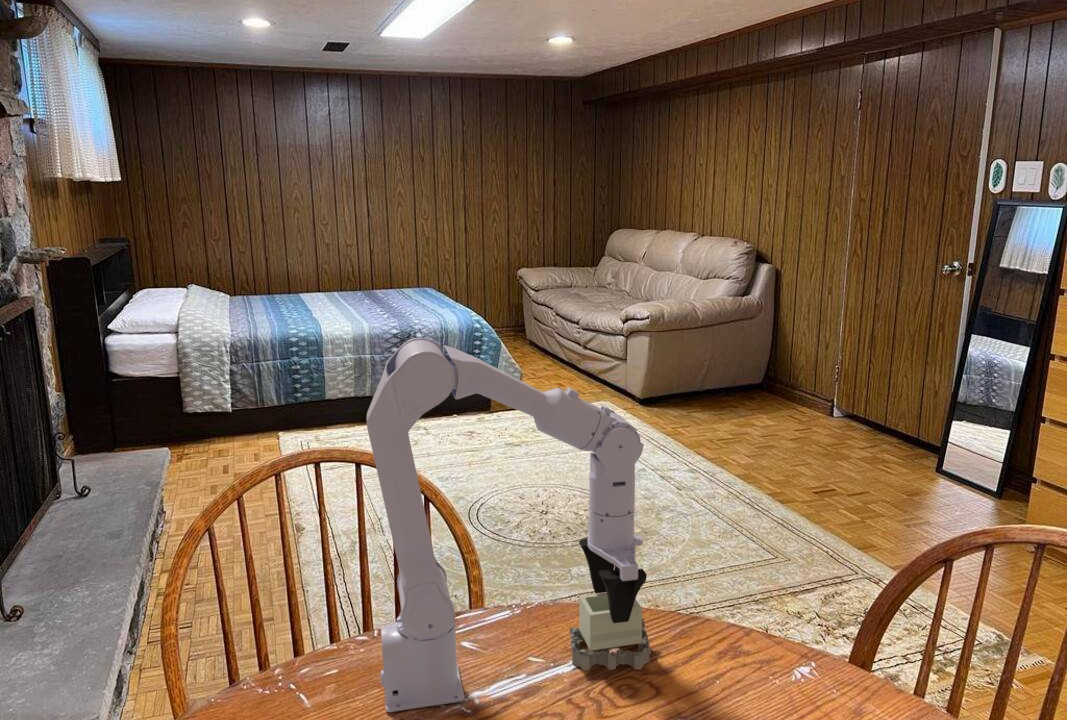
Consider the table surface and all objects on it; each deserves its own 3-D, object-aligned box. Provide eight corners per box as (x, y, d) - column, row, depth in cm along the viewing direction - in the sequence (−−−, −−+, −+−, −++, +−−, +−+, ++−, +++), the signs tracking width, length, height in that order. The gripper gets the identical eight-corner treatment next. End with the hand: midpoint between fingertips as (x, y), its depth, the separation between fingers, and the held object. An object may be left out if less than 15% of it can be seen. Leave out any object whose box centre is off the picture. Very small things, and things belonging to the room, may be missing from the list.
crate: (590, 650, 102) (590, 615, 101) (579, 630, 107) (579, 596, 106) (641, 643, 103) (642, 608, 102) (628, 623, 108) (629, 589, 107)
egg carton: (646, 643, 110) (647, 616, 109) (651, 676, 103) (652, 647, 102) (569, 641, 110) (570, 614, 110) (569, 673, 103) (569, 644, 102)
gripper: (662, 527, 94) (660, 631, 97) (623, 484, 108) (622, 576, 111) (606, 534, 93) (605, 638, 96) (573, 489, 107) (573, 582, 110)
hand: (610, 605), depth 103 cm, fingers open, 7 cm apart
